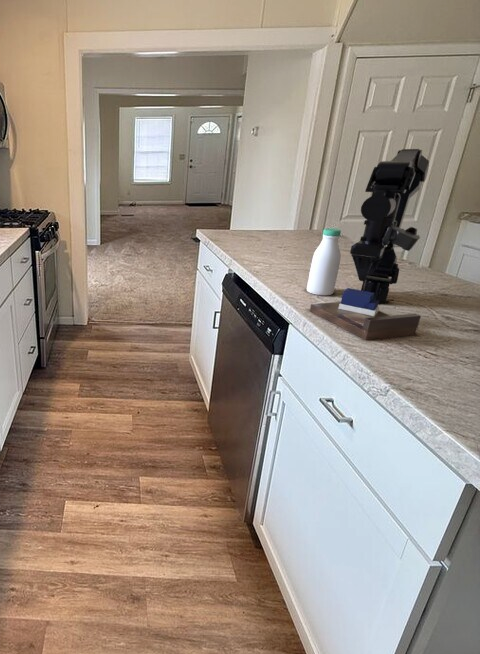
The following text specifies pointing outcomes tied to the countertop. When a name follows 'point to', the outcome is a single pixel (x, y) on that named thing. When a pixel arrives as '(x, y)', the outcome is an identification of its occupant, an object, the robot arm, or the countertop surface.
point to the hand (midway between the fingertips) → (366, 277)
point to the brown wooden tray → (368, 321)
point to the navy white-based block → (359, 302)
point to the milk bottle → (325, 264)
